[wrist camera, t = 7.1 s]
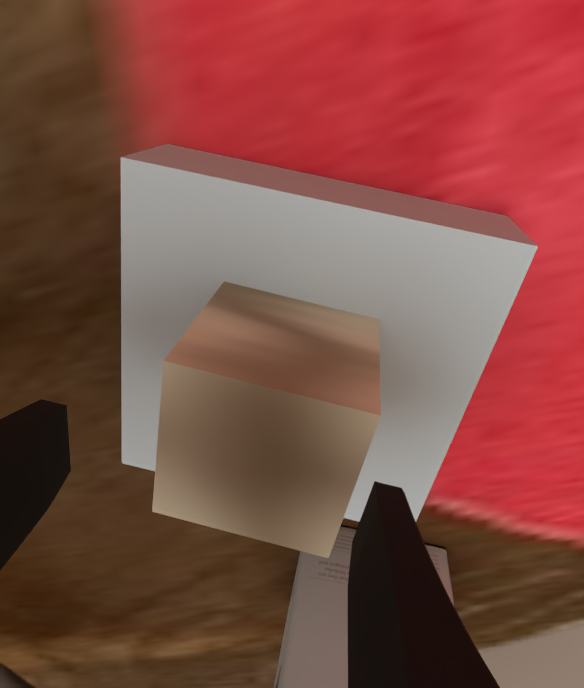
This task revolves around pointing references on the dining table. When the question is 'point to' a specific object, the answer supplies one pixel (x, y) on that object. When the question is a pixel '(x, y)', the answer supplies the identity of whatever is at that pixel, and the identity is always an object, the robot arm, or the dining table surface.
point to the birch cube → (267, 417)
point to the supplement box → (326, 617)
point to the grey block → (317, 289)
